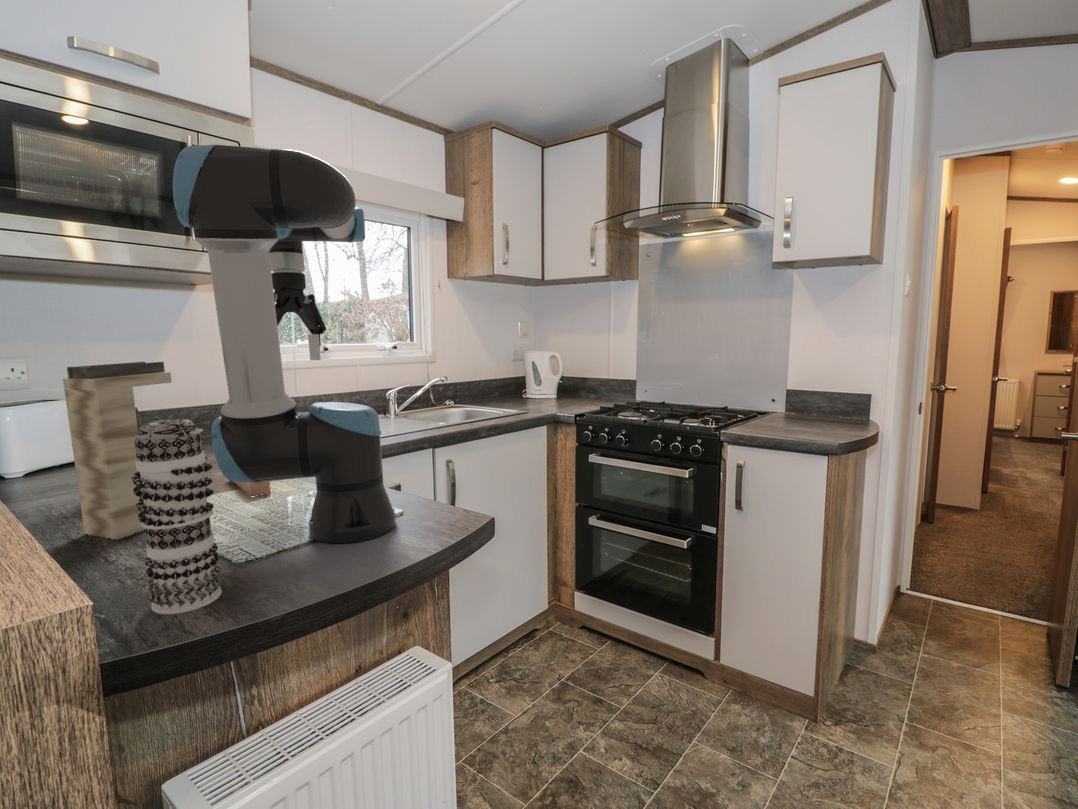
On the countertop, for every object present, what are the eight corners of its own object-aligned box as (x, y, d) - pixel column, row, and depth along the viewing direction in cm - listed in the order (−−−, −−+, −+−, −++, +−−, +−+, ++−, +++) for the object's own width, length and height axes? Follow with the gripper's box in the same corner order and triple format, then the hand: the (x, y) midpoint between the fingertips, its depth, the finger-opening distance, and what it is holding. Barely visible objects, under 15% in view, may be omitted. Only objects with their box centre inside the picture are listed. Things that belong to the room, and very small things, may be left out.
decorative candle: (228, 579, 86) (210, 414, 82) (221, 606, 77) (201, 424, 74) (156, 591, 82) (134, 419, 78) (140, 622, 74) (116, 430, 70)
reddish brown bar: (249, 477, 145) (247, 462, 144) (270, 495, 130) (269, 477, 129) (231, 480, 142) (230, 465, 142) (251, 498, 127) (249, 481, 127)
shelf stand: (186, 515, 115) (169, 361, 111) (117, 540, 103) (94, 367, 98) (156, 511, 118) (137, 361, 114) (84, 534, 106) (61, 367, 102)
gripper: (313, 276, 149) (319, 358, 152) (230, 269, 126) (240, 366, 129) (336, 275, 146) (342, 358, 149) (256, 267, 123) (265, 366, 126)
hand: (295, 362), depth 139 cm, fingers open, 13 cm apart
